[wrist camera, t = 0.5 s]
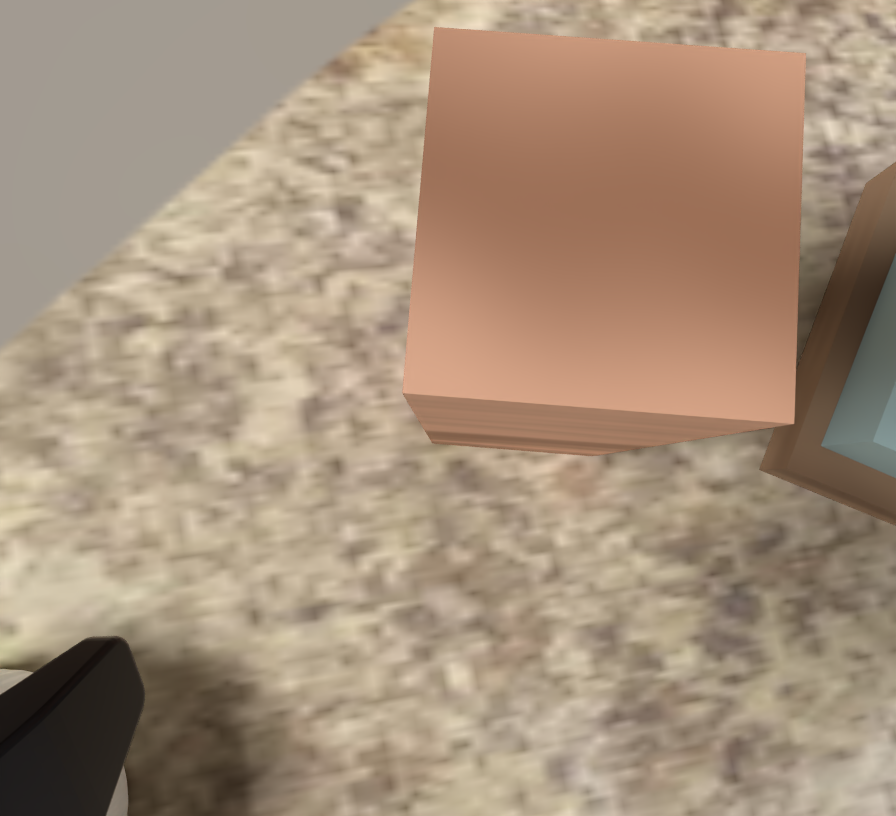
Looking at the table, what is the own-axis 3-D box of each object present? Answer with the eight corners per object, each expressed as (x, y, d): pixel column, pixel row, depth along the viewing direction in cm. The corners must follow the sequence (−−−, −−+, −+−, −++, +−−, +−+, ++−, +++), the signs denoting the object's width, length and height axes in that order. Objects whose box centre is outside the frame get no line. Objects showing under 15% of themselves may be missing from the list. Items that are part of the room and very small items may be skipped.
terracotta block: (592, 456, 22) (793, 424, 9) (432, 443, 22) (402, 393, 9) (601, 299, 22) (805, 53, 9) (445, 287, 22) (433, 27, 9)
